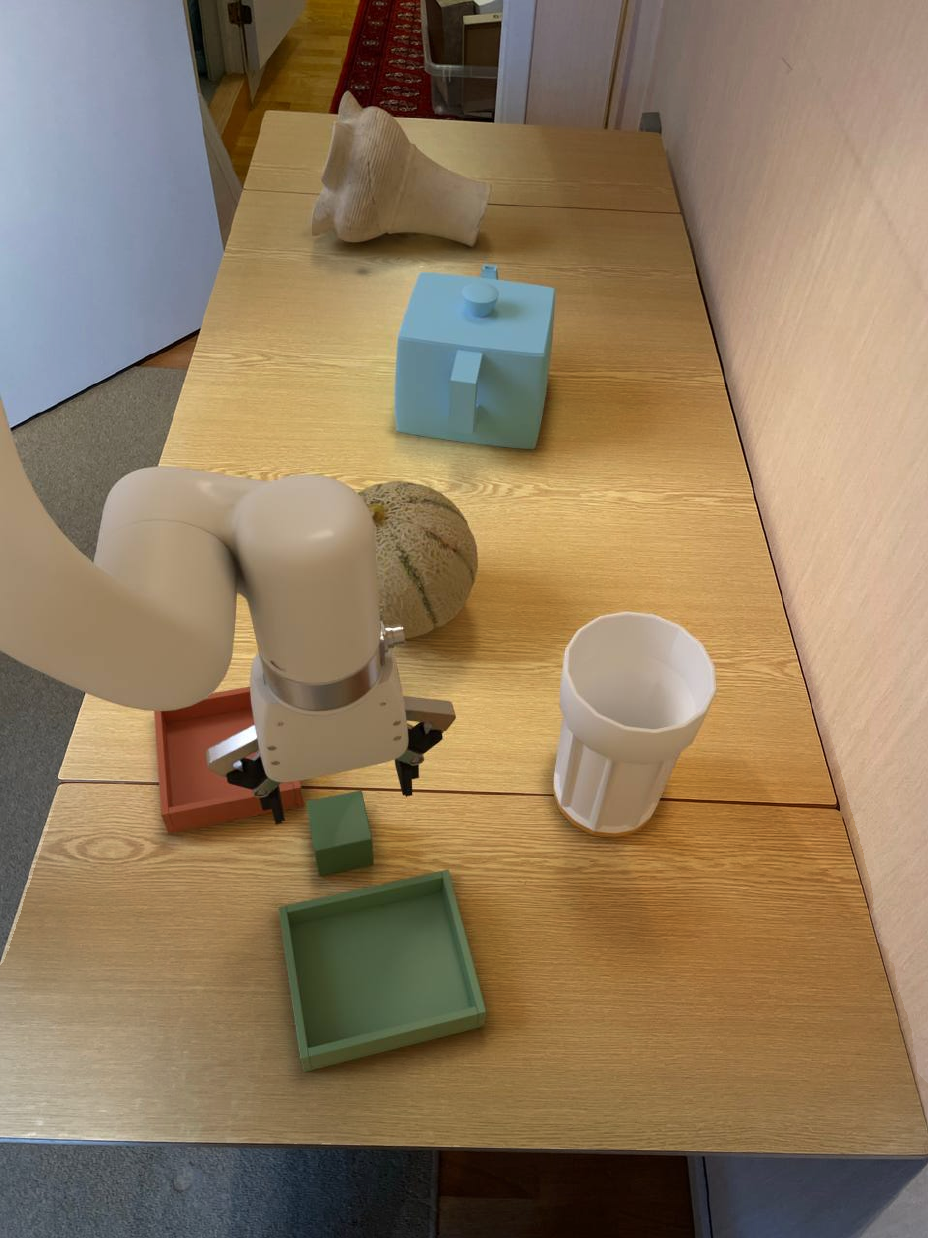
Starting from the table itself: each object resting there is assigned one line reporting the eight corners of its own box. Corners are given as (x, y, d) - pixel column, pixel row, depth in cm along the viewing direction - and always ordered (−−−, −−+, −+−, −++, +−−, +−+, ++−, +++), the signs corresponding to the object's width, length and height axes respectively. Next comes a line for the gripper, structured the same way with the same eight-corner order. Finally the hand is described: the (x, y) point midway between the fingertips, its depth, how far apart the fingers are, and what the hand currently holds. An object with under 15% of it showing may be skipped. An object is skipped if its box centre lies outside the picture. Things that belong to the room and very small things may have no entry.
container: (385, 457, 112) (382, 341, 100) (423, 334, 128) (424, 221, 116) (533, 477, 111) (548, 362, 99) (553, 350, 127) (567, 238, 115)
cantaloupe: (501, 597, 99) (513, 486, 88) (418, 694, 91) (419, 585, 79) (383, 537, 104) (379, 423, 92) (293, 623, 96) (278, 511, 84)
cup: (513, 795, 84) (532, 672, 71) (590, 714, 90) (621, 587, 77) (621, 876, 80) (662, 762, 67) (695, 786, 86) (746, 665, 72)
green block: (318, 877, 79) (314, 851, 75) (310, 828, 81) (305, 801, 78) (374, 865, 80) (372, 839, 76) (363, 817, 82) (361, 789, 79)
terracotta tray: (168, 834, 81) (161, 815, 78) (160, 723, 87) (153, 703, 85) (304, 806, 83) (301, 787, 80) (286, 700, 90) (282, 680, 87)
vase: (534, 123, 141) (344, 57, 136) (539, 167, 124) (323, 94, 120) (488, 266, 154) (313, 211, 150) (487, 324, 138) (290, 264, 133)
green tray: (304, 1072, 69) (300, 1059, 67) (282, 923, 76) (278, 906, 74) (484, 1026, 72) (486, 1012, 69) (447, 886, 79) (448, 869, 76)
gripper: (442, 586, 65) (440, 730, 78) (175, 633, 62) (220, 775, 75) (471, 674, 60) (464, 812, 73) (184, 729, 57) (230, 863, 70)
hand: (341, 793), depth 74 cm, fingers open, 9 cm apart
